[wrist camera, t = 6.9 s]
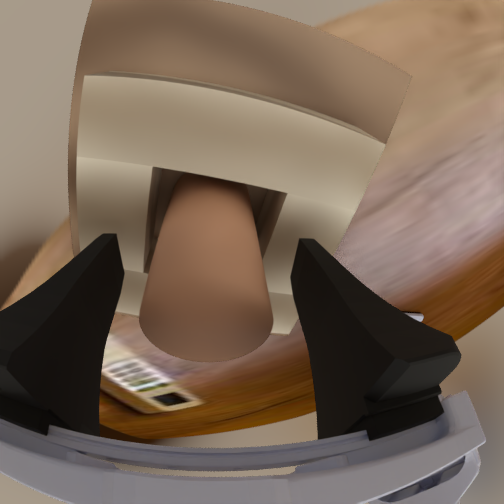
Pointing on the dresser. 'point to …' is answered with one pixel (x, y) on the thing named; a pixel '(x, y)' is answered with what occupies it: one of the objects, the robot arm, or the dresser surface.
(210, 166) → the socket
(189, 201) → the peg
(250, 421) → the dresser surface
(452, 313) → the dresser surface
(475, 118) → the dresser surface
